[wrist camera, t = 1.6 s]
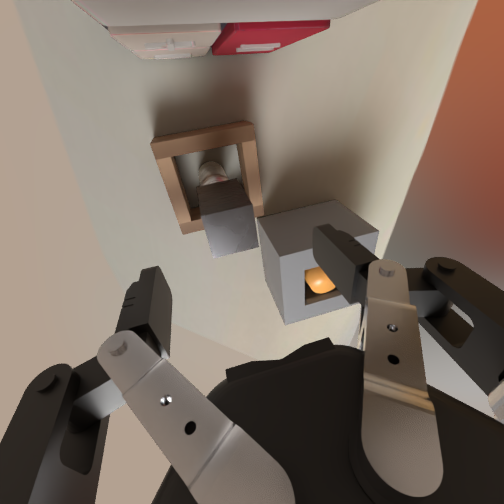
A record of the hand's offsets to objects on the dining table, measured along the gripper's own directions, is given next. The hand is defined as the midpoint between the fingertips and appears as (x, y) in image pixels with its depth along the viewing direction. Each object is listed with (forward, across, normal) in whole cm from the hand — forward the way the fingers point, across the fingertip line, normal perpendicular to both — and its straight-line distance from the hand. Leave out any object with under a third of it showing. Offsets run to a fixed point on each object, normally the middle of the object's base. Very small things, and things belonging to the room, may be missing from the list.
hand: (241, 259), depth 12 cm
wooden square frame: (+15, 0, 0) cm, 15 cm away
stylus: (+15, 0, 0) cm, 15 cm away
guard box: (+15, -9, +11) cm, 20 cm away
